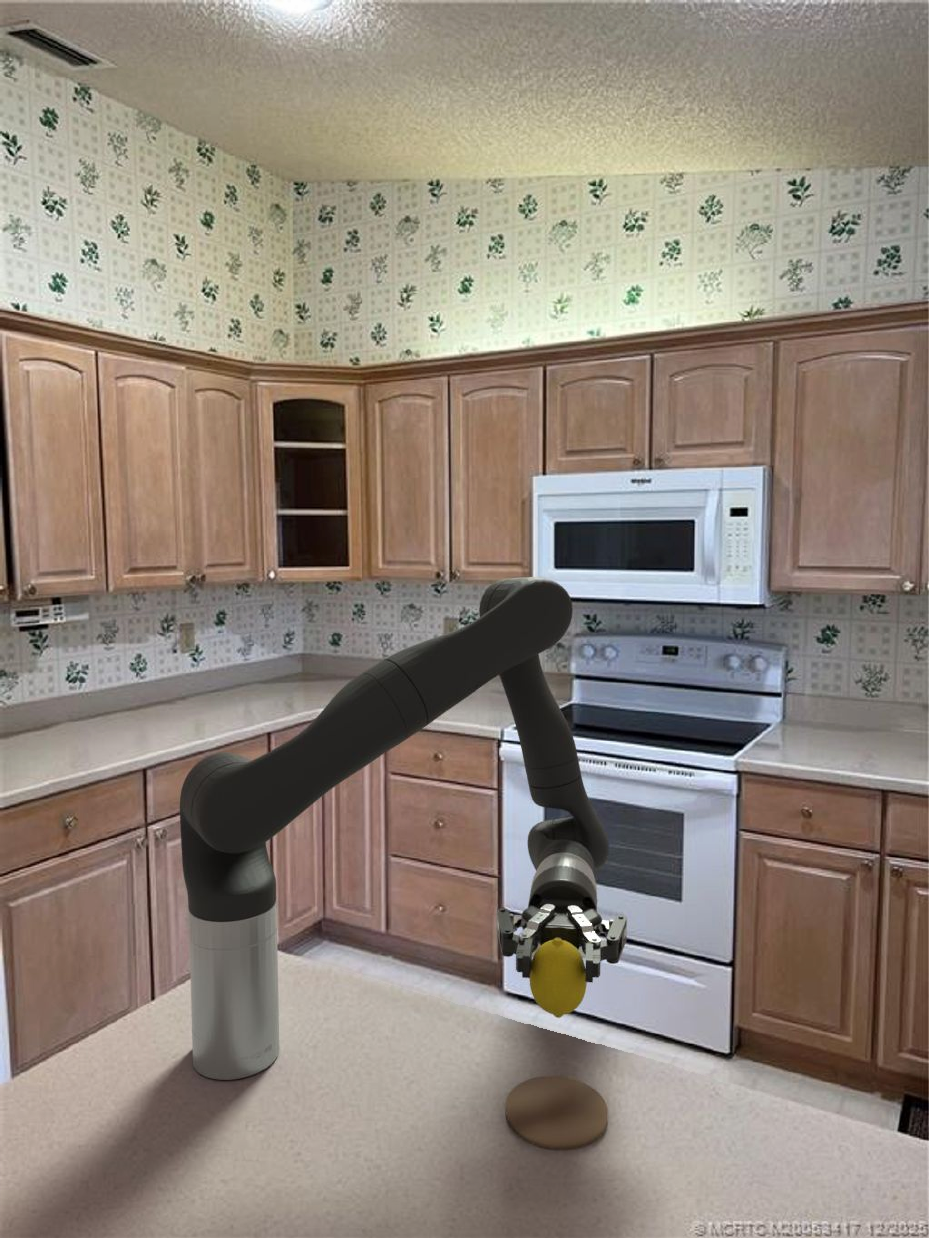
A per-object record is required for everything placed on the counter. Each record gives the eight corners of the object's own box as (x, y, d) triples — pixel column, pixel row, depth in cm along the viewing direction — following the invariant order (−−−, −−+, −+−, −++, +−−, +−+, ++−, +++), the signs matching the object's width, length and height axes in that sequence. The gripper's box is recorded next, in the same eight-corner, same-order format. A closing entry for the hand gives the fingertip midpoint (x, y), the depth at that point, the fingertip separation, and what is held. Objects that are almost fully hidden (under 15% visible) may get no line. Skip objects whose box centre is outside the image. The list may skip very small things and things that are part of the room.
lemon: (584, 1035, 82) (584, 954, 81) (526, 1029, 83) (525, 949, 82) (588, 1004, 87) (588, 927, 86) (533, 999, 88) (532, 923, 87)
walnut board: (484, 1111, 86) (484, 1103, 86) (553, 1071, 93) (553, 1063, 93) (559, 1165, 79) (559, 1157, 79) (628, 1117, 85) (628, 1109, 85)
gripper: (500, 861, 99) (481, 928, 82) (628, 867, 97) (635, 937, 80) (500, 924, 100) (482, 1003, 83) (627, 932, 98) (634, 1014, 81)
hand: (557, 970), depth 82 cm, fingers closed on lemon, 5 cm apart
